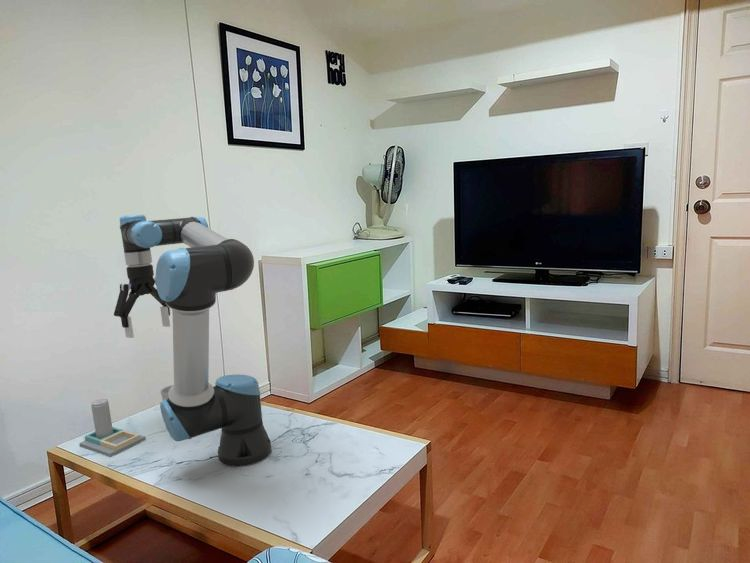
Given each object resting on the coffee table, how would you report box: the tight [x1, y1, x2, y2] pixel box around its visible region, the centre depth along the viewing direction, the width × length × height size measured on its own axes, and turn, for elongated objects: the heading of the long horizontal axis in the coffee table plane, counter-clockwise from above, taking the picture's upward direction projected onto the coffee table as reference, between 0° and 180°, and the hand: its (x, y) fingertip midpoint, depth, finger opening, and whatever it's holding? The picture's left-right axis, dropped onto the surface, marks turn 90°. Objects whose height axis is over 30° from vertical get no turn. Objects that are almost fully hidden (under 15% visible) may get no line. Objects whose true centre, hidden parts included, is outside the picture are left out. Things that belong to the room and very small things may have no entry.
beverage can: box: [90, 398, 113, 439], centre depth 169 cm, size 5×5×12 cm
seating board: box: [78, 426, 147, 458], centre depth 168 cm, size 16×12×2 cm
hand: (148, 331), depth 170 cm, fingers open, 13 cm apart
